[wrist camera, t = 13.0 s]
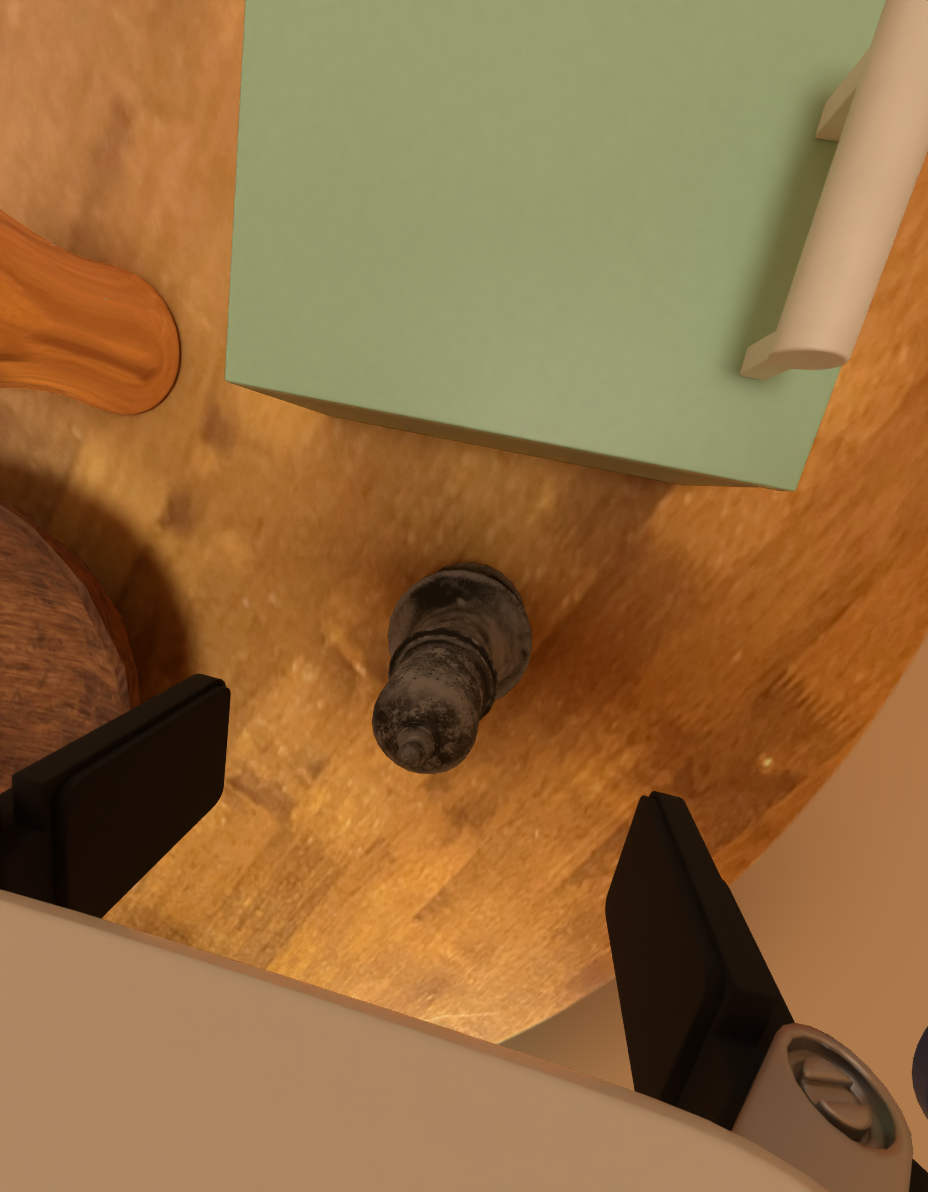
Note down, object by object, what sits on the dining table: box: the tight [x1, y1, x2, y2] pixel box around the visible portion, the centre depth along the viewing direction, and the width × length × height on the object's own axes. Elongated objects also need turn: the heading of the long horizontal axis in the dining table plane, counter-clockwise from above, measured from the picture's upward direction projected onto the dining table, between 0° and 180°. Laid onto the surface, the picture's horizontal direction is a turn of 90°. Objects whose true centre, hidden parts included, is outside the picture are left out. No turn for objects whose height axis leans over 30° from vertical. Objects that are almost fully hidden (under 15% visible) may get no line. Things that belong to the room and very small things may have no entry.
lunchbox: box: [244, 387, 756, 487], centre depth 16 cm, size 16×11×7 cm
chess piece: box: [372, 562, 532, 774], centre depth 17 cm, size 6×6×12 cm
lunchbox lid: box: [225, 0, 928, 491], centre depth 10 cm, size 16×11×4 cm, turn 79°
